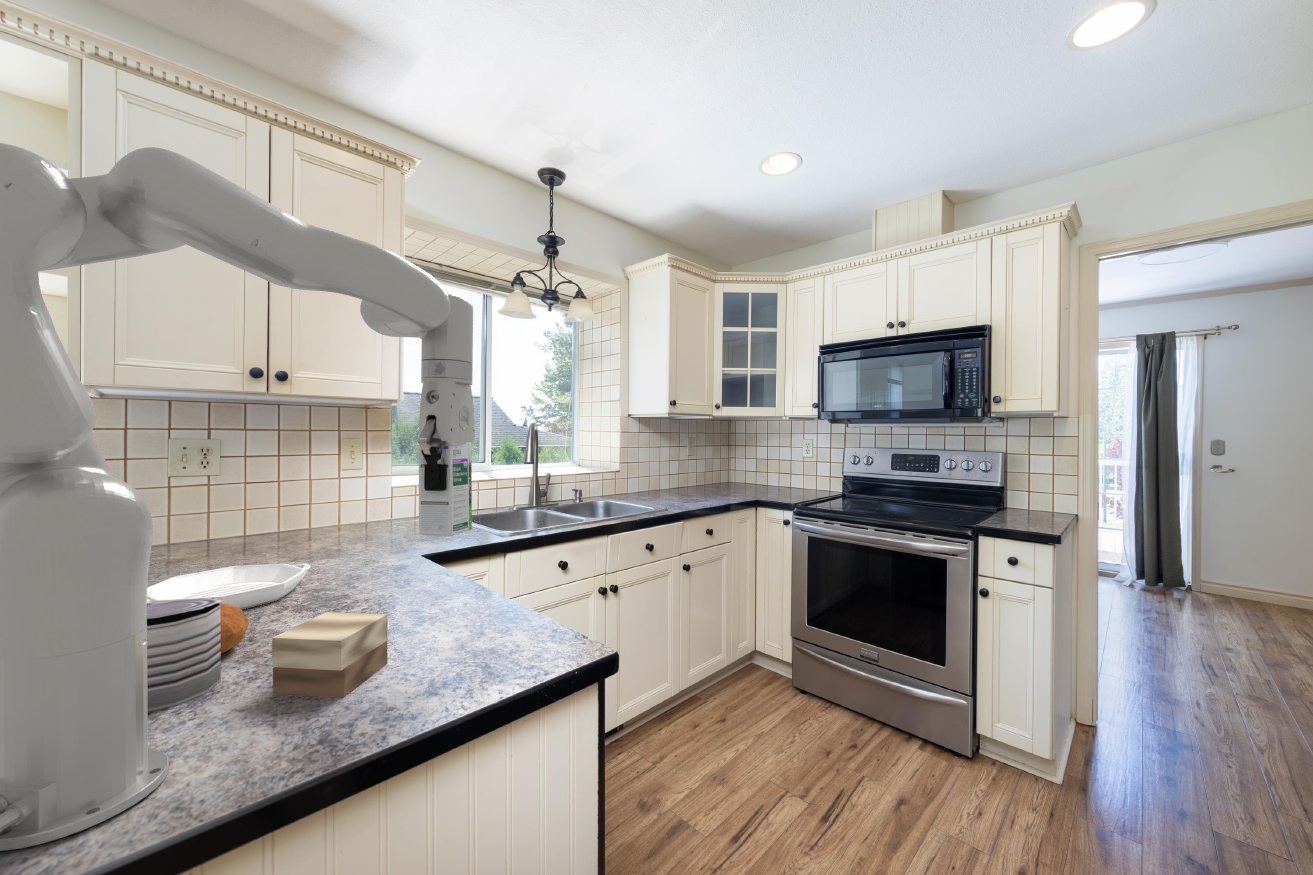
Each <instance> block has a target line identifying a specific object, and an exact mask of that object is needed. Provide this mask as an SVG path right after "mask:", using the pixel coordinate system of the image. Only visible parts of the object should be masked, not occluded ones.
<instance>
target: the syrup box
mask: <svg viewBox="0 0 1313 875" xmlns="http://www.w3.org/2000/svg"><path fill="white" fill-rule="evenodd" d="M433 443H442V441H433ZM436 450H437V452H438V454H439V450H440V449H436ZM423 457H424V456H423V454H422V451H421V448H420V446H419V445H418V534H419V535H422V536H431V537H454V536H455V535H459V534H462V533H465V532H469V531H471V530H472V529H473V523H472V521H473V520H472V518H473V517H472V516H473V515H472V513H473V509H472V508H473V507H472V505H473V503H472V500H473V498H472V496H473V495H472V494H473V493H472V491H473V490H472V489H473V488H472V486H473V485H472V473H473V472H472V444H471V442H467V443H466V444H463V445H459V446H449V445H448V444H447V443H446V456H445V460H444V464H447V488H446V490H445V491H426V490H425V489H424V465H425V464H424V463H423Z"/></svg>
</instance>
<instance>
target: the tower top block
mask: <svg viewBox="0 0 1313 875" xmlns="http://www.w3.org/2000/svg"><path fill="white" fill-rule="evenodd" d="M386 641H387V642H388V614H384V613H364V612H362V613H361V612H359V613H358V612H340V611H339V612H335V611H326V612H324V613H322V614H319V615H317V616H315V617H313V618H311V619H308V620H306V621H305V622H303V623H300V624H298V625H296V626H294V627H292V628H289V629H287V630H286V631H284V632H281V633H280V634H277V635H275V636H273V637H272V638H271V659H272V660H271V661H272V662H271V665H272V668H274V667H279V668H299V669H319V670H339V671H341V670H343V669H344V668H346V667H347V666H349V665H350V664H352V663H354V662H355V661H357V660H358V659H360V658H361V657H363V656H364V655H366V654H367V653H369V652H370V651H372V650H373V649H375V648H376V647H378V646H380V645H381V644H383V643H384V642H386Z"/></svg>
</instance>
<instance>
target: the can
mask: <svg viewBox="0 0 1313 875" xmlns="http://www.w3.org/2000/svg"><path fill="white" fill-rule="evenodd" d="M222 601H223V600H220V599H216V598H201V599H189V600H178V601H171V602H165V603H160V604H154V605H149V604H148V605H147V679H148V713H150V712H155V711H159V710H164V709H168V708H174V707H177V706H179V705H181V704H185V703H187V702H189V701H191V700H194V699H197V698H199V697H201V696H204V695H206V694H208V693H209V692H211V690H212V689H214V688H215V687H216V686H217V685H219V684H220V683H221V681H222V678H221V676H222V674H221V673H222V669H221V668H222V666H221V665H222V662H221V659H222V657H221V656H222V654H221V629H220V604H219V602H222Z"/></svg>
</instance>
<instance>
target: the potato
mask: <svg viewBox="0 0 1313 875" xmlns="http://www.w3.org/2000/svg"><path fill="white" fill-rule="evenodd" d="M219 604H220V629H221V655H222V654H224V653H225V652H227V651H228V650H230V649H232V648H234V647H236V646H237V645H239V644H240V643H242V640H243V639H244V637H245V635H246V632H247V630H248V628H249V620H248V617H247V615H246V613H245V612H244V611H243V610H241V609H239V608H237V607H236V606H233V605H229V604H225V603H219Z"/></svg>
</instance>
